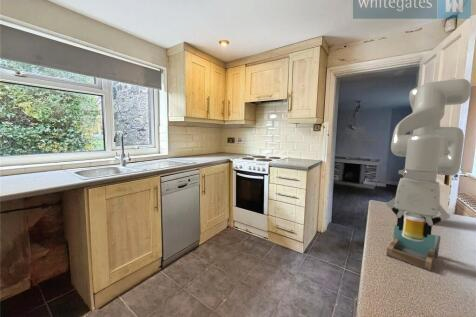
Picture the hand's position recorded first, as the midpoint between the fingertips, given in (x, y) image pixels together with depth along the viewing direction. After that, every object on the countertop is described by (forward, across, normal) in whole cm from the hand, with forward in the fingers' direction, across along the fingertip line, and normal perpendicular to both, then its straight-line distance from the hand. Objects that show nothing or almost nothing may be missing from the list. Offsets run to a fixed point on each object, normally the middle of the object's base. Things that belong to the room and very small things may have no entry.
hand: (412, 231), depth 66 cm
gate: (+8, 0, +6) cm, 10 cm away
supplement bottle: (+2, 0, 0) cm, 2 cm away
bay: (+8, 0, 0) cm, 8 cm away
